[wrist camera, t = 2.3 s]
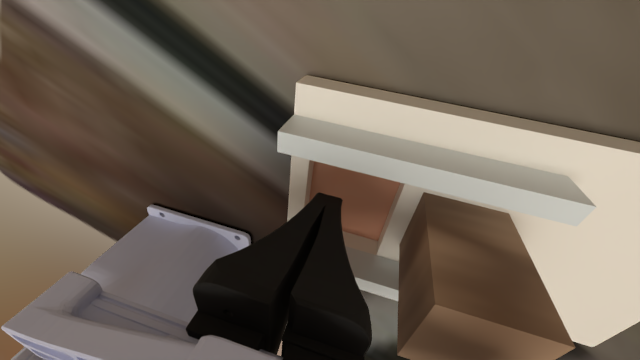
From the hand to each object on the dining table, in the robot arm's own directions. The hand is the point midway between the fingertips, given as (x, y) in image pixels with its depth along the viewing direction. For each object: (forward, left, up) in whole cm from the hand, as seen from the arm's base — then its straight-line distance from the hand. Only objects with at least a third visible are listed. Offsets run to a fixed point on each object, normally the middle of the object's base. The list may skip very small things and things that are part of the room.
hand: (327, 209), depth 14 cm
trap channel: (+6, 0, -2) cm, 7 cm away
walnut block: (+6, 0, -1) cm, 7 cm away
